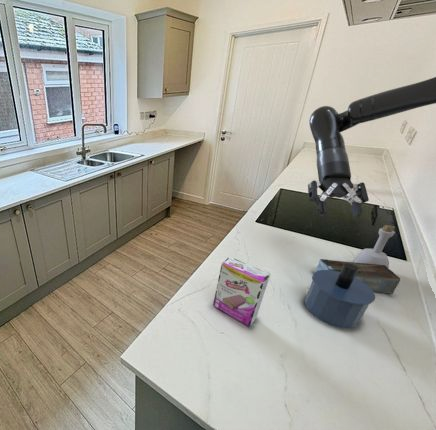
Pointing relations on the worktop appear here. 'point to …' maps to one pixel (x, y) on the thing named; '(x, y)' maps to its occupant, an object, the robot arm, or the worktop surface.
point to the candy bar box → (240, 290)
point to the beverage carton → (367, 274)
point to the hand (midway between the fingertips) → (340, 215)
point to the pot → (333, 309)
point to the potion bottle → (376, 249)
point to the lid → (344, 285)
